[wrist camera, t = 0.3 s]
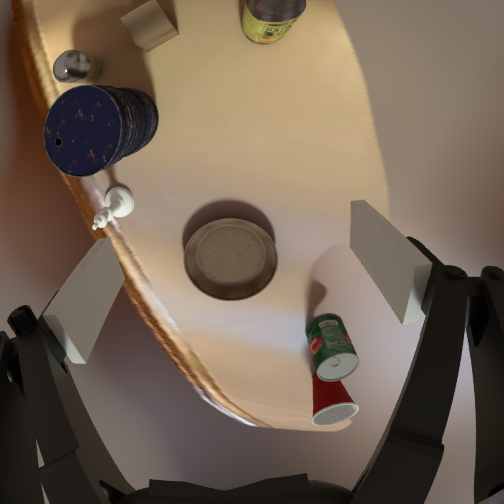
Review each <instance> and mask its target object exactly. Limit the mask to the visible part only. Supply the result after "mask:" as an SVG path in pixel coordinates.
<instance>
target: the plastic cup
mask: <svg viewBox="0 0 504 504" xmlns="http://www.w3.org/2000/svg"><path fill="white" fill-rule="evenodd" d="M358 409H359V407H358V405H357V404H356V403H354V402H353V400H352V399H351V397H350V396H349V395H348V393H347V391H346V389H345V387H344V386H343V384H342V382H341V380H337V381H324V380H321V379H320V378H319V377H318V376H317V373H316V374H315V375H314V377H313V417H312V421H311V422H312V423H313V424H314V425H318V426H328V425H333V424H337V423H340V422H342V421H345V420H347V419H348V418H350V417H352V416H353V415H354V414H356V412H357V411H358Z"/></svg>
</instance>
